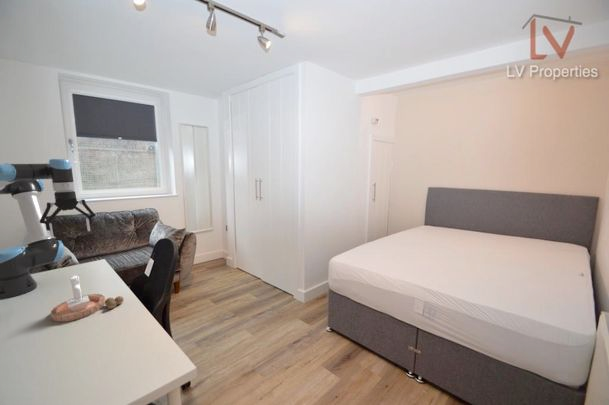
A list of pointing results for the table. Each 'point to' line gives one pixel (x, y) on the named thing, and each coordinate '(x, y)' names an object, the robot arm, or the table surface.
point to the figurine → (77, 296)
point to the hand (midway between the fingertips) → (71, 233)
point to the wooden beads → (113, 302)
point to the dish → (66, 314)
